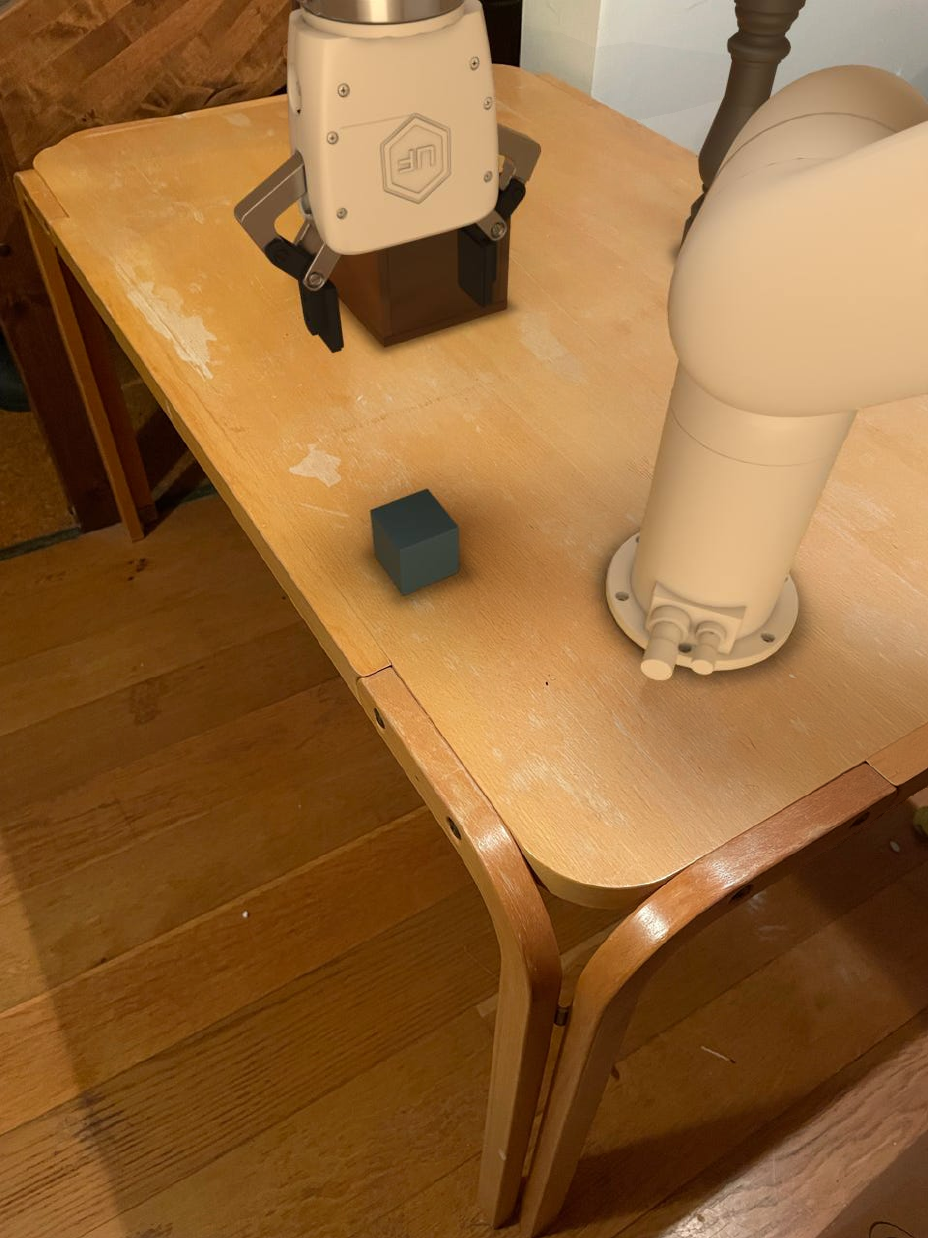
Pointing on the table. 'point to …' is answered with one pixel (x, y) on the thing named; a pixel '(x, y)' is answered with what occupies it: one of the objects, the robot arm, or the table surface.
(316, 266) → the robot arm
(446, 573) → the block
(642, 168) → the table surface
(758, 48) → the candle holder
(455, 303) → the chest
